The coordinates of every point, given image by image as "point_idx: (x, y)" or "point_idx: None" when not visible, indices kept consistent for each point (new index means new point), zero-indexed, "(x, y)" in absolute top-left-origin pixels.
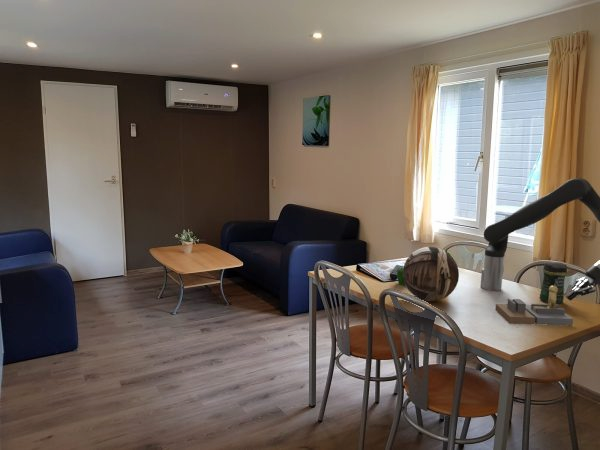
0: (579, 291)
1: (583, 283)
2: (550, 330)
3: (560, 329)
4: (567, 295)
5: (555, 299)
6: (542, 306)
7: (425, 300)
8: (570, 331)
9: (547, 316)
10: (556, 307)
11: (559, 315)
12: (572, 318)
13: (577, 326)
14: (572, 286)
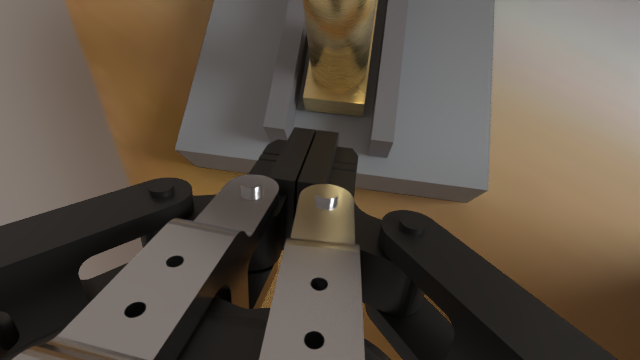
0: (140, 184)
1: (99, 314)
2: (155, 2)
3: (158, 62)
4: (317, 134)
5: (306, 16)
6: (375, 16)
7: None
8: (120, 100)
9: (242, 3)
10: (371, 130)
11: (251, 93)
12: (183, 150)
13: None
14: (408, 224)
